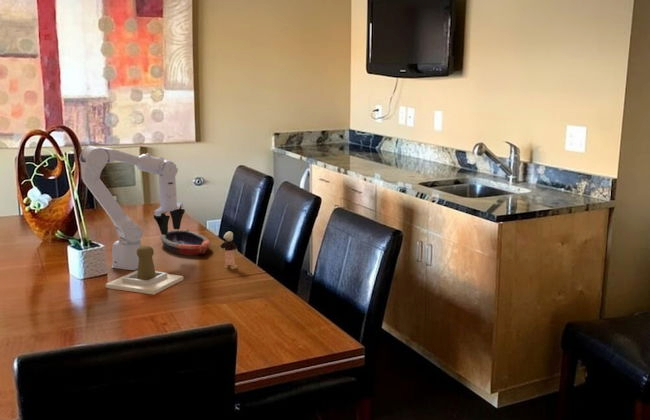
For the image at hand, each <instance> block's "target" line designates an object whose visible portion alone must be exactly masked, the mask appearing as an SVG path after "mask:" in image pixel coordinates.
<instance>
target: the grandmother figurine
mask: <svg viewBox="0 0 650 420" xmlns="http://www.w3.org/2000/svg"><path fill="white" fill-rule="evenodd" d="M223 239H225V241H224V242H222V243H221V245H220V247H219V251H220V252H223V249H224V251H225V252H224V261H225V266H224V268H225V269H232V270H234V269H237V268H238V265H237V264H236V262H235V261H236V260H235V255H236V256H237V255H239V252H238V248H237V245H236V244H235V243H234V242H233V240H234V233H233V232H232V231H227V232H225V234H224V235H223Z"/></svg>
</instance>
